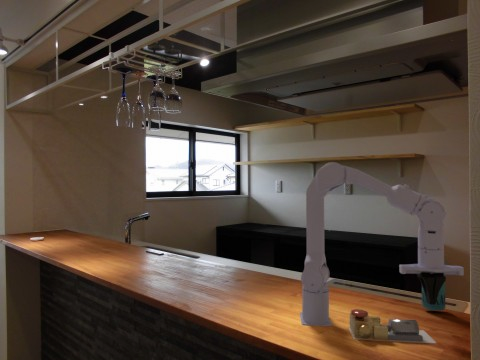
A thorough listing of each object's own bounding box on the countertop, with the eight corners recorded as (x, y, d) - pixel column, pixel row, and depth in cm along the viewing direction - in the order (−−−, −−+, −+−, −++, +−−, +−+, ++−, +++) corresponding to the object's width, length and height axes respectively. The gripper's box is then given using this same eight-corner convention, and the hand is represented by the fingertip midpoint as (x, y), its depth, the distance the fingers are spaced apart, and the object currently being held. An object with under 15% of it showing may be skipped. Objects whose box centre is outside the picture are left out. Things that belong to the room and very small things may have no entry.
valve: (347, 325, 97) (347, 305, 97) (378, 327, 97) (378, 306, 97) (355, 340, 88) (355, 318, 88) (389, 342, 87) (389, 319, 87)
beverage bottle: (420, 307, 114) (420, 243, 114) (444, 310, 111) (444, 244, 112) (422, 314, 108) (421, 246, 108) (447, 317, 105) (447, 247, 106)
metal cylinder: (387, 328, 94) (389, 315, 92) (412, 329, 93) (414, 316, 92) (392, 339, 90) (393, 326, 89) (418, 341, 89) (419, 327, 88)
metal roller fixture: (347, 328, 97) (347, 322, 97) (423, 331, 95) (423, 325, 95) (354, 340, 89) (354, 334, 89) (436, 344, 87) (436, 338, 87)
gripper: (405, 250, 88) (406, 307, 88) (470, 251, 86) (470, 309, 86) (396, 245, 95) (396, 298, 95) (455, 246, 93) (456, 300, 93)
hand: (431, 303), depth 91 cm, fingers closed
